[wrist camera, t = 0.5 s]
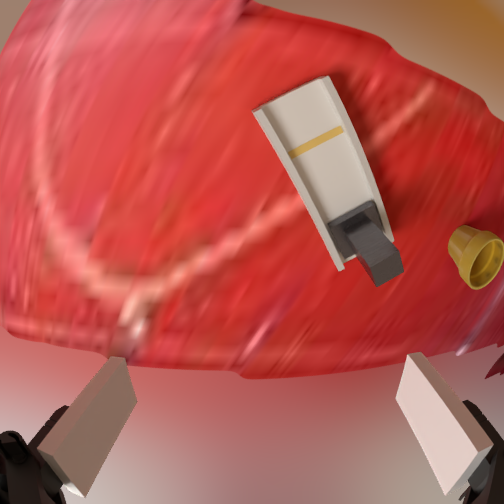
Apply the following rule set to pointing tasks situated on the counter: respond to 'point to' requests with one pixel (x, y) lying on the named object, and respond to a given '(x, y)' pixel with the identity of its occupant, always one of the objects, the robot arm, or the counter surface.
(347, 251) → the post
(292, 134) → the rail
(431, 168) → the counter surface
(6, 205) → the counter surface
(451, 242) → the plant pot
